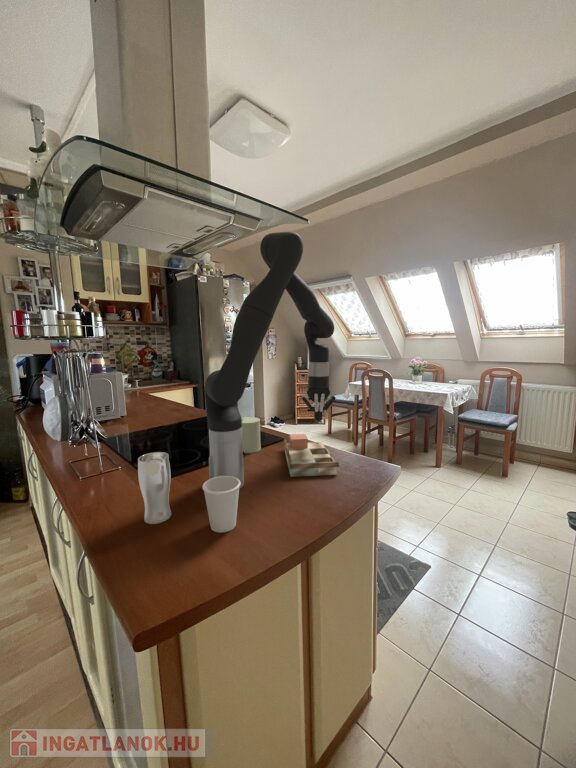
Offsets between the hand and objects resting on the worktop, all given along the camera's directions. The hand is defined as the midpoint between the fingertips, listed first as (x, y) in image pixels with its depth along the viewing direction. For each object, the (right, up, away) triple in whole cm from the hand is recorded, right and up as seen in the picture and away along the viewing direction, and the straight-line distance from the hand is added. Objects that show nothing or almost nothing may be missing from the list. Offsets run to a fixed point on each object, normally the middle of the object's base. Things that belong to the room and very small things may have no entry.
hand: (318, 421), depth 117 cm
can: (-26, -12, +5) cm, 29 cm away
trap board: (-4, -13, -8) cm, 15 cm away
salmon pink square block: (-7, -9, +1) cm, 12 cm away
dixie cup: (-26, -19, -45) cm, 55 cm away
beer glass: (-42, -18, -41) cm, 62 cm away
